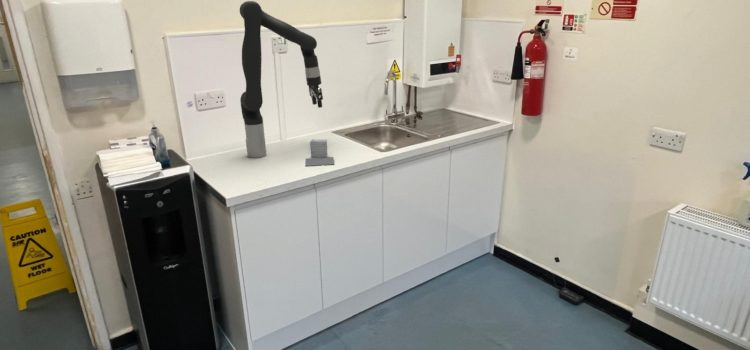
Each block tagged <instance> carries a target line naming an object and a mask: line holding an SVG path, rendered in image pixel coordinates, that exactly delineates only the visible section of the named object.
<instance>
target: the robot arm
mask: <svg viewBox="0 0 750 350" xmlns="http://www.w3.org/2000/svg"><path fill="white" fill-rule="evenodd" d="M239 15H240V16H241V18H242V19H243V25H244V34H243V35H244V37H243V40H242V47H241V65H242V66H241V67H242V70H243V74H244V75H243V76H244V78H245V91H244V92H242V94H241V96H240V109H241V115H242V119H243V124H244V130H245V145H246V154H247V158H253V159H258V158H264V157H265V156H267V147H266V137H265V129H264V118H263V115H262V113H261V108H262V106H263V101H264V100H263V92H262V38H261V36H262V35H261V28H262V27H264V28H266V29H267V30H269V31H271V32H273V33H275V34H277V35H278V36H279V37H282V38H283V39H285V40H287V41H289V42H290V43H294V44H296V45H298V46H299V47H300V52H301V55H302V57H303V63H304V73H305V79H306V85H307V86H308V93H309V96H310V98H311V102H312V105H315V106H316V105H317V108H319V109H320V108H323V103H322V101H323V100H324V96H323V90H322V87H321V88H320V86H319V85H321V84H322V78H321V72H320V71H321V70H320V67H319V60H318V56H317V55H316V53H315V49H316V48H317V46H318V42H317V39H316V38H315V37H314V36H311V35H309V34H308V33H305V32H303V31H301V30H299V29H297V28H296V27H295V26H292V25H291V24H289V23H287V22H285V21H283V20H281V19H278V18H276V17H274V16H272V15H271V14H268V13H267V12H265V11H264V10H262V7H261V5H260V4H259V3H258V2H257V1H254V0H248V1H244V2H242V3H241V5H240V7H239Z"/></svg>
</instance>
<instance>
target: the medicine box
mask: <svg viewBox="0 0 750 350" xmlns="http://www.w3.org/2000/svg"><path fill="white" fill-rule="evenodd" d="M327 141H328V140H327V139H324V138H322V139H317V138H316V139H315V138H314V139H311V140H310V142H309V146H310V149H309V150H310V158H324V157H327V156H328V144H327V143H328V142H327Z"/></svg>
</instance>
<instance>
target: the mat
mask: <svg viewBox="0 0 750 350" xmlns="http://www.w3.org/2000/svg"><path fill="white" fill-rule="evenodd" d="M334 158H335V157H334V156H329V157H324V158H311V157H308V158H307V157H306V158H305V163H304V165H305V167H318V166H319V167H321V166H322V165H324V166H335V160H334Z"/></svg>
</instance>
